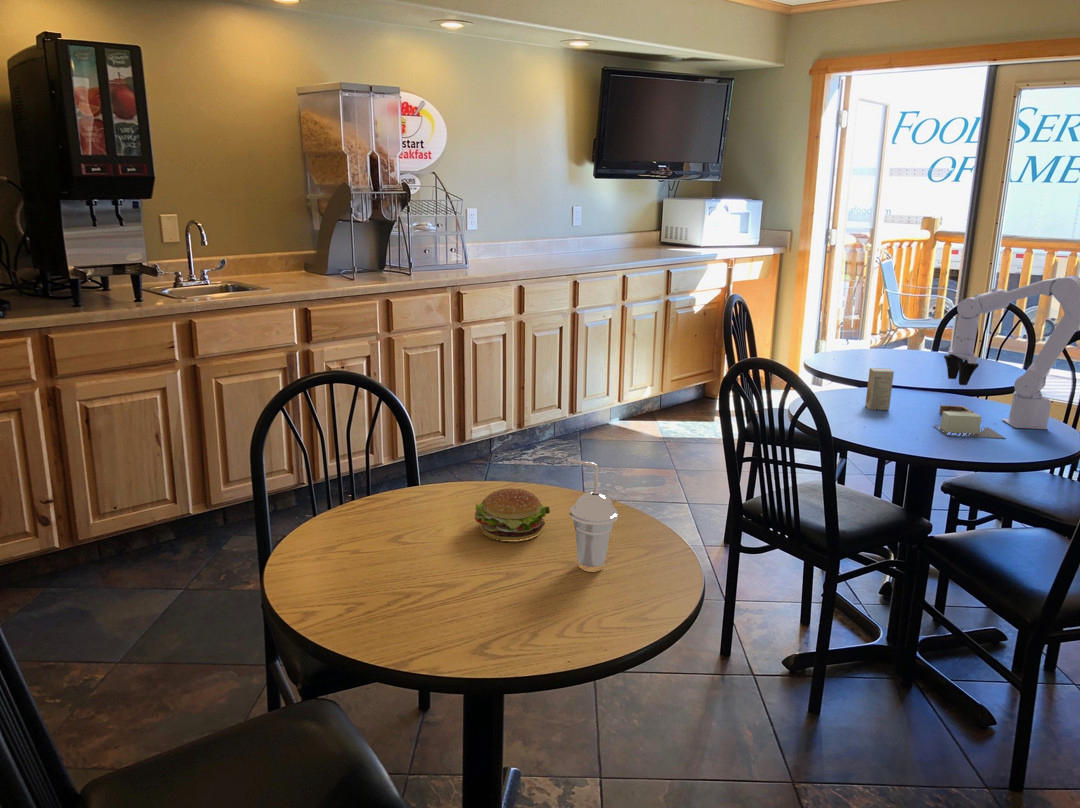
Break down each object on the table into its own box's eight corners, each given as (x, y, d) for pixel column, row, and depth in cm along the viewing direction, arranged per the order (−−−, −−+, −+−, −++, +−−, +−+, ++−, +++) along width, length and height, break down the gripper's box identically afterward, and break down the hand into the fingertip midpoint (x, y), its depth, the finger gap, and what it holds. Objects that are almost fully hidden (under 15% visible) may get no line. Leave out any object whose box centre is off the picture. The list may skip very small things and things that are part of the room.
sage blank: (972, 429, 238) (975, 412, 236) (978, 433, 234) (981, 416, 232) (939, 428, 238) (942, 411, 237) (945, 432, 234) (948, 415, 233)
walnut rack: (962, 414, 254) (963, 406, 254) (972, 420, 248) (974, 412, 247) (939, 413, 255) (940, 405, 254) (948, 419, 248) (950, 411, 247)
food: (458, 535, 158) (459, 496, 155) (500, 512, 169) (501, 475, 167) (520, 554, 151) (521, 513, 149) (559, 528, 162) (561, 490, 160)
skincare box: (885, 406, 259) (890, 368, 256) (889, 410, 255) (895, 371, 252) (863, 405, 260) (869, 367, 257) (867, 409, 256) (873, 370, 253)
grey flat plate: (988, 428, 240) (988, 427, 240) (1005, 438, 231) (1005, 438, 231) (931, 425, 241) (932, 424, 241) (946, 436, 231) (946, 435, 231)
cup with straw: (605, 582, 141) (611, 470, 136) (556, 570, 145) (561, 461, 140) (621, 562, 149) (629, 456, 143) (575, 551, 152) (580, 447, 147)
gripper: (941, 332, 258) (934, 375, 262) (962, 341, 244) (954, 387, 248) (964, 333, 258) (957, 376, 261) (986, 342, 244) (978, 388, 247)
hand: (957, 381), depth 254 cm, fingers open, 7 cm apart
